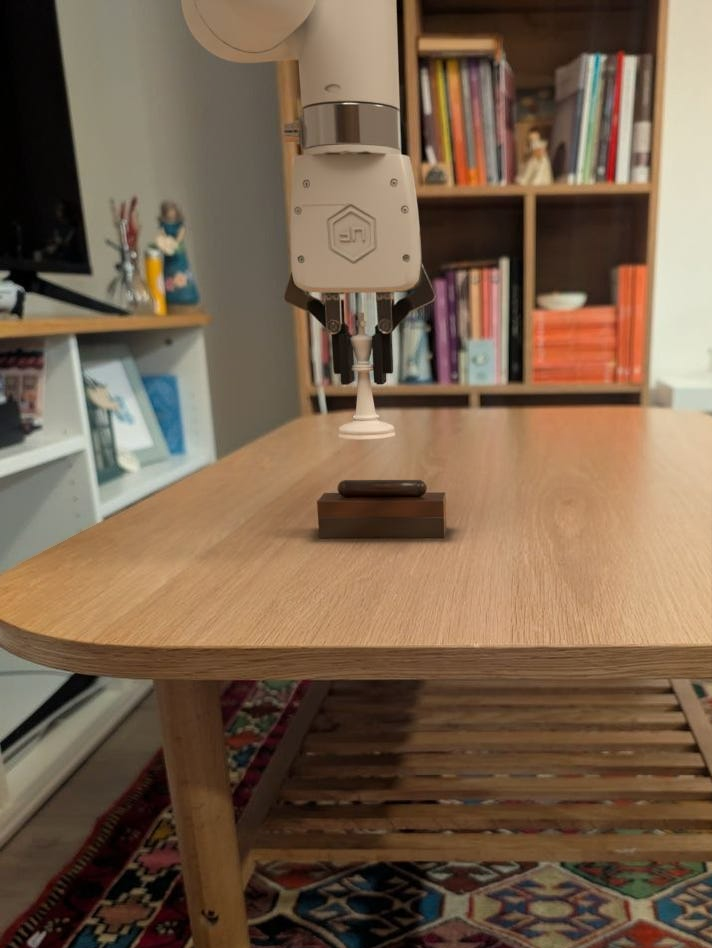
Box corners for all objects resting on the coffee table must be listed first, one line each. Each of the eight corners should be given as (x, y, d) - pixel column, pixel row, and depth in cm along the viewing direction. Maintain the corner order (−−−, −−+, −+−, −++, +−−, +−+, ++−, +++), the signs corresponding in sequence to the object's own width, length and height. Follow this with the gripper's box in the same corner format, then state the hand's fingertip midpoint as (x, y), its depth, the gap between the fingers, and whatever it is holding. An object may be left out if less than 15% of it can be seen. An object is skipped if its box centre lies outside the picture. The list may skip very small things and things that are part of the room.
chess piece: (387, 430, 84) (382, 312, 81) (402, 438, 80) (397, 312, 76) (332, 433, 82) (325, 312, 79) (344, 441, 78) (337, 313, 75)
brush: (319, 538, 91) (315, 484, 89) (326, 528, 94) (322, 476, 93) (444, 537, 90) (443, 483, 89) (446, 528, 94) (445, 476, 92)
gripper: (237, 132, 70) (259, 388, 76) (452, 129, 70) (457, 386, 76) (261, 147, 77) (279, 380, 83) (457, 144, 77) (460, 379, 83)
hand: (364, 381), depth 80 cm, fingers closed on chess piece
